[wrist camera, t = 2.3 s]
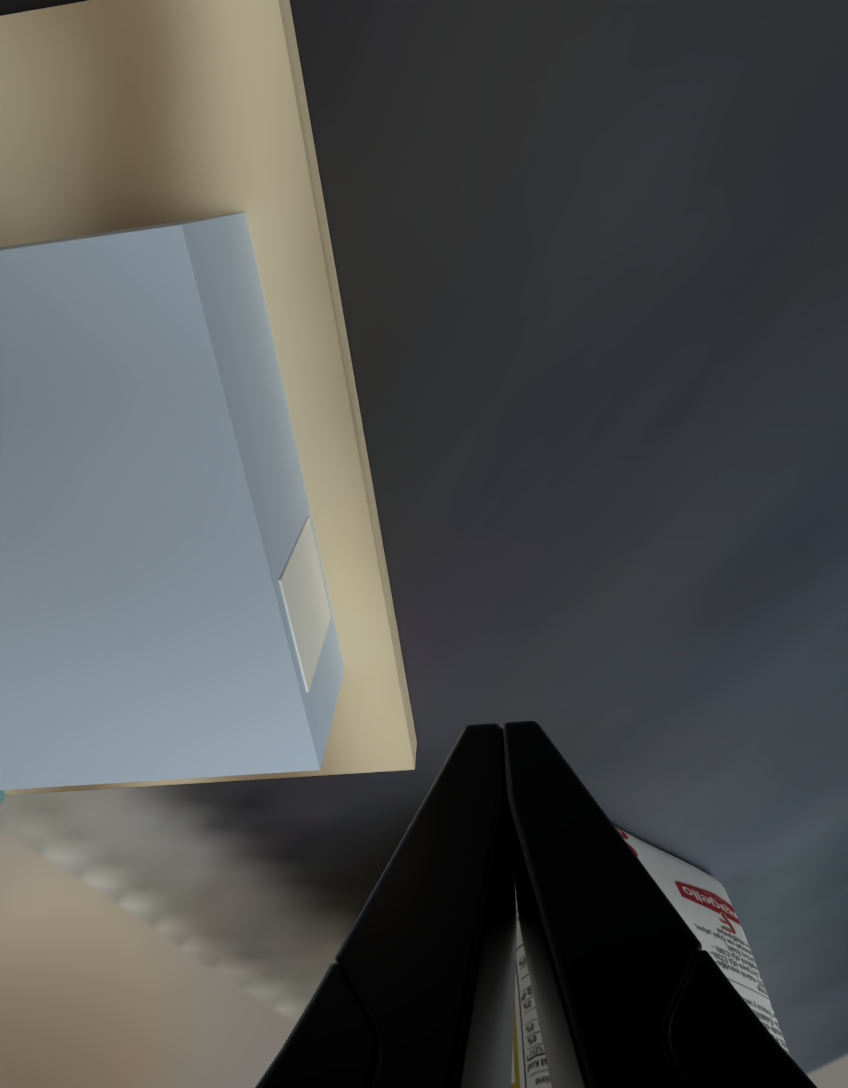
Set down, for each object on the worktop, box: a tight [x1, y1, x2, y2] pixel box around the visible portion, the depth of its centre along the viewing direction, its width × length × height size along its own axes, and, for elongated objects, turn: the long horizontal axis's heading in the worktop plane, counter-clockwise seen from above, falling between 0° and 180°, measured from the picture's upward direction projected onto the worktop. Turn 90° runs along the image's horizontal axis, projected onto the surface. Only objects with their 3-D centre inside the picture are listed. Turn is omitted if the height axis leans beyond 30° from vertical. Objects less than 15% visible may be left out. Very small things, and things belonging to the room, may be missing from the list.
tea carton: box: [0, 212, 344, 790], centre depth 17 cm, size 9×12×4 cm
